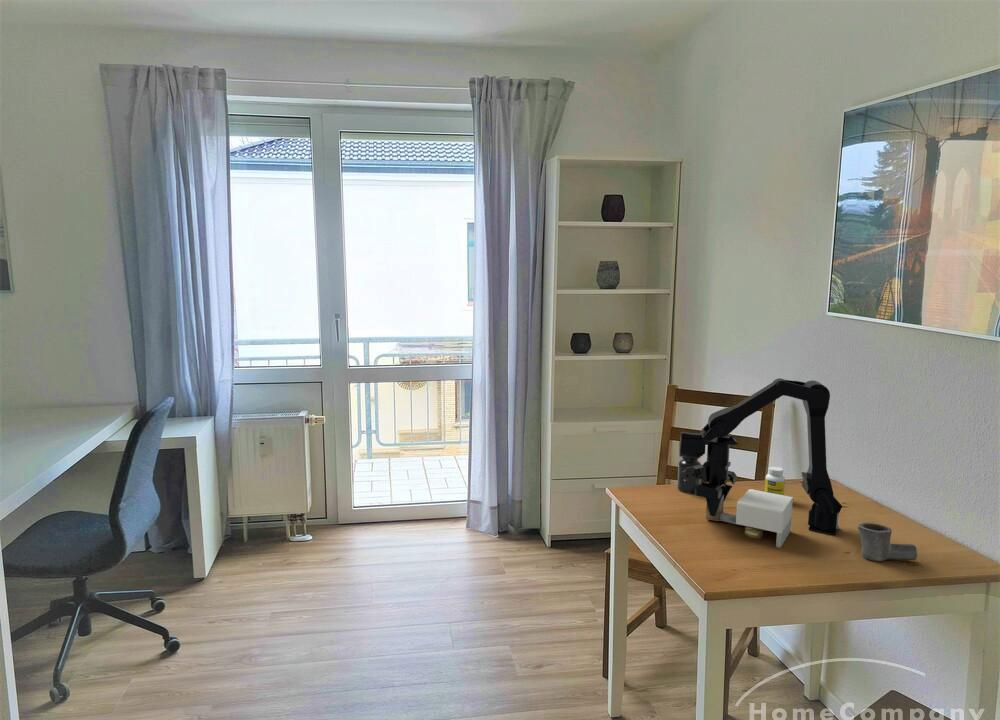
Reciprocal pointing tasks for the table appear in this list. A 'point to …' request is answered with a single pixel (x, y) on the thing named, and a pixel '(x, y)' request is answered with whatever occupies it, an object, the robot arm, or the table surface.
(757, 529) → the token
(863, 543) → the pipe
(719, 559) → the table surface
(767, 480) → the supplement bottle
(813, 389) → the robot arm
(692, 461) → the supplement bottle
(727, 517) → the taupe block mallet
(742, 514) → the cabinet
